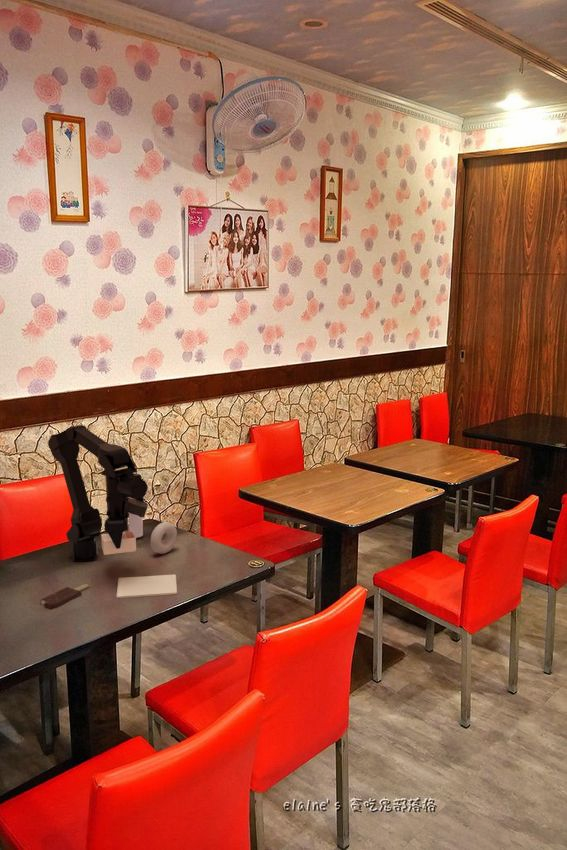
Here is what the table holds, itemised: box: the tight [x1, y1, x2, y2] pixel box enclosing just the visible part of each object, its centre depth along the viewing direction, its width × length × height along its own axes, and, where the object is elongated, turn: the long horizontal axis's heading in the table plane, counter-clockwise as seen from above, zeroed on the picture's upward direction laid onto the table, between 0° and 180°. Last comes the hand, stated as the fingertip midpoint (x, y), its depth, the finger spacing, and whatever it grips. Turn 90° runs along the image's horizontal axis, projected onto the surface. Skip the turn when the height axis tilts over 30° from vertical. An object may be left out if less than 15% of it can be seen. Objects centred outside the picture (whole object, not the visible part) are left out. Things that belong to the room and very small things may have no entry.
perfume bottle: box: [127, 497, 144, 539], centre depth 231 cm, size 6×6×20 cm
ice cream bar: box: [39, 583, 89, 610], centre depth 190 cm, size 5×2×15 cm
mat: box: [116, 574, 178, 599], centre depth 197 cm, size 16×12×1 cm
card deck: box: [100, 530, 137, 556], centre depth 204 cm, size 9×6×4 cm, turn 111°
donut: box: [149, 521, 178, 555], centre depth 220 cm, size 10×4×10 cm, turn 143°
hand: (118, 544), depth 204 cm, fingers closed on card deck, 6 cm apart
